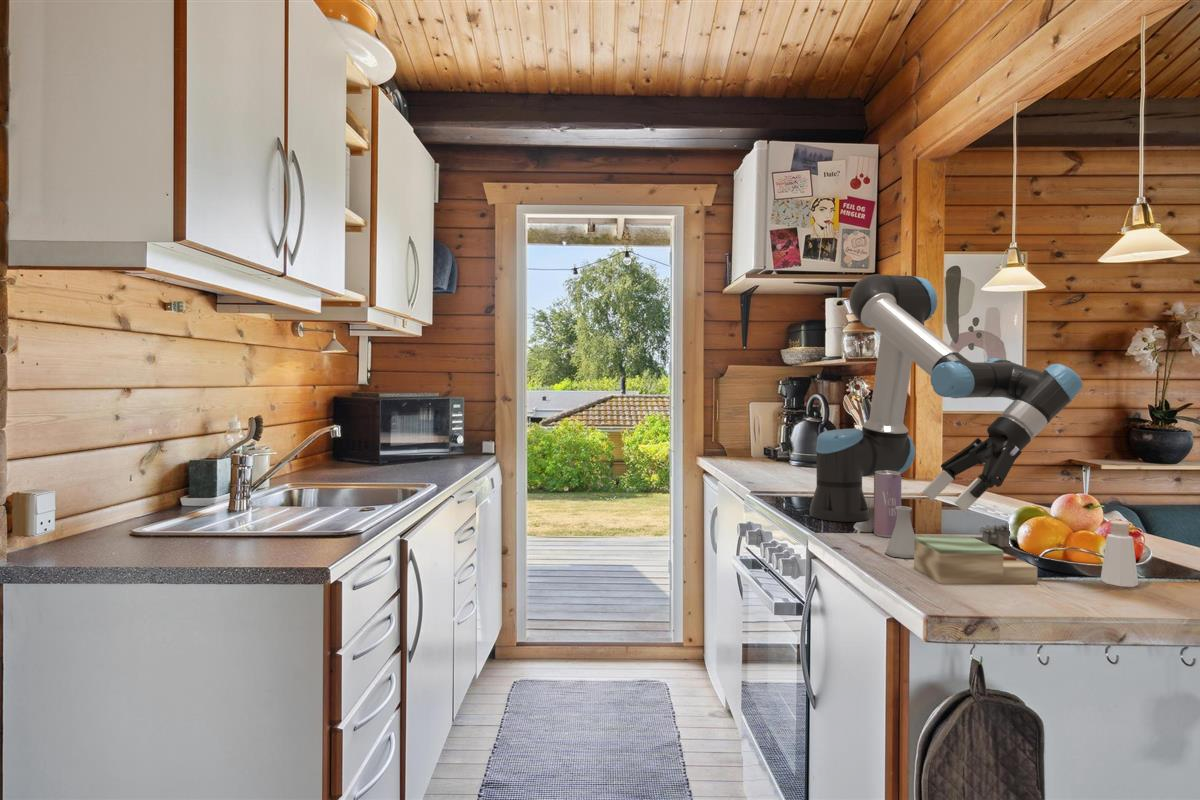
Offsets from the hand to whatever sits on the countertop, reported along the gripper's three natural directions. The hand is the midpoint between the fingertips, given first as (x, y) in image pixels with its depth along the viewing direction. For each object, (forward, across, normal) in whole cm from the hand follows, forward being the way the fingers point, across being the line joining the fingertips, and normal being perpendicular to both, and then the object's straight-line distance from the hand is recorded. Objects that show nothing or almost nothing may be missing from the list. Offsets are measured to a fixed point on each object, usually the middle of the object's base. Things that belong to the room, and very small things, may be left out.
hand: (942, 501), depth 143 cm
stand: (+9, -14, -7) cm, 18 cm away
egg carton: (-6, +13, -23) cm, 27 cm away
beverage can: (+10, +20, -6) cm, 23 cm away
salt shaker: (-7, -19, -24) cm, 32 cm away
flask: (+14, +1, -3) cm, 14 cm away
